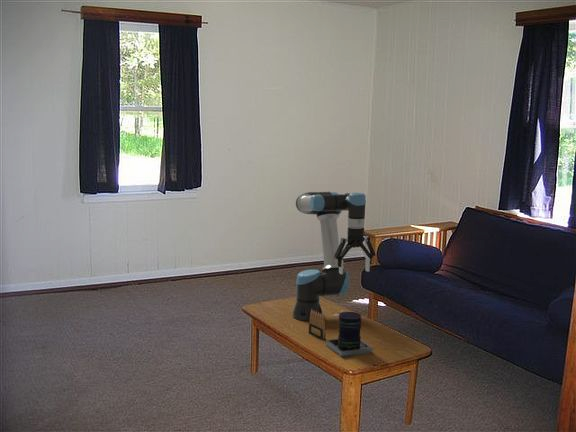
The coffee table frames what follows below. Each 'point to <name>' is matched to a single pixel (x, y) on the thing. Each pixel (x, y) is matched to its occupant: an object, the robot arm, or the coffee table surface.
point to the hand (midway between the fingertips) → (354, 272)
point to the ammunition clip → (317, 325)
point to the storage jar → (349, 331)
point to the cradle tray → (362, 350)
